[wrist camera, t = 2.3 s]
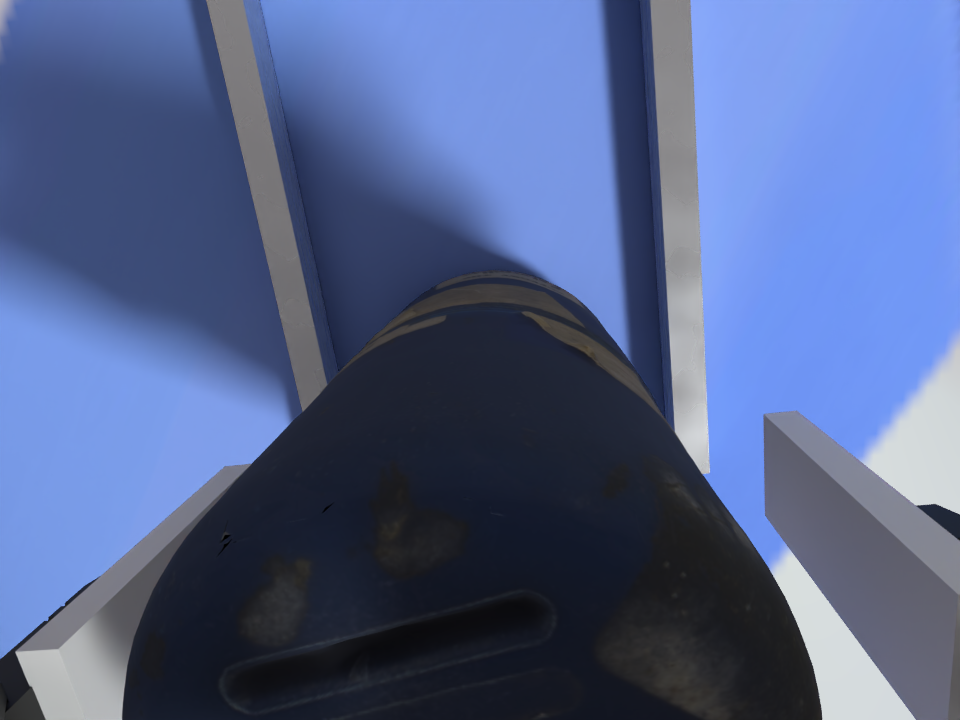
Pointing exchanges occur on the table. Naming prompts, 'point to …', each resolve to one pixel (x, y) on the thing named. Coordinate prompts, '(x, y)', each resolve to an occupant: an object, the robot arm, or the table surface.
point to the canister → (473, 546)
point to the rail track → (670, 186)
